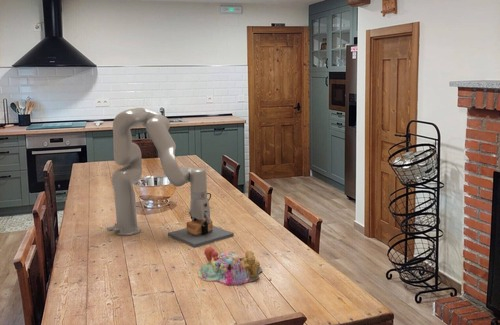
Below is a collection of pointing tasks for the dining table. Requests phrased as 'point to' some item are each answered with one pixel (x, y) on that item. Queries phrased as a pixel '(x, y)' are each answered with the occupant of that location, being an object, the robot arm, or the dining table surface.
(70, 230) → the dining table surface
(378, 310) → the dining table surface
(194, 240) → the board
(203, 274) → the candy landscape model
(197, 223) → the block
